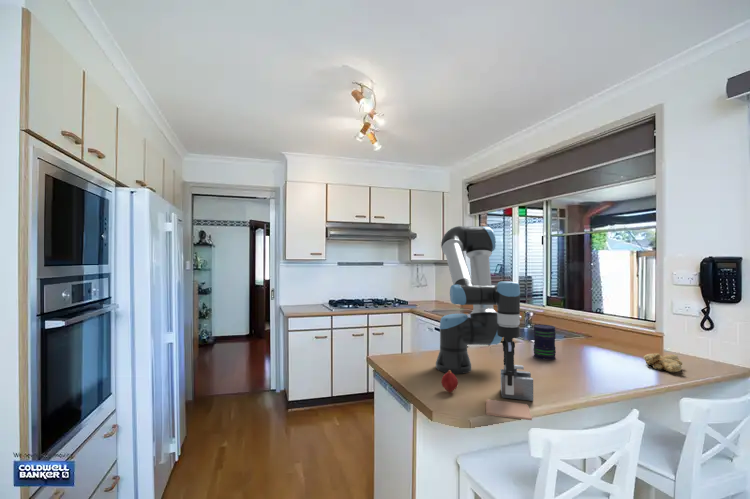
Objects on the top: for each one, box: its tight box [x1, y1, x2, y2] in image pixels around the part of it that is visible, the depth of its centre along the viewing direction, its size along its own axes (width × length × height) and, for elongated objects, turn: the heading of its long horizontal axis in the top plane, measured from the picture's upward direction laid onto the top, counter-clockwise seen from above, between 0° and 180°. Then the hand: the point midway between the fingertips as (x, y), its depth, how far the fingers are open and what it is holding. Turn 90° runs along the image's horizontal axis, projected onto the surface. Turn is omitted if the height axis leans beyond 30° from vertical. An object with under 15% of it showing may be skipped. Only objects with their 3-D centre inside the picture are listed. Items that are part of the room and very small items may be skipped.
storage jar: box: [533, 324, 557, 361], centre depth 178 cm, size 10×10×15 cm
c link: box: [500, 368, 534, 402], centre depth 128 cm, size 10×9×7 cm
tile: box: [485, 399, 533, 421], centre depth 115 cm, size 13×11×1 cm
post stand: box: [505, 364, 525, 377], centre depth 128 cm, size 6×3×10 cm, turn 73°
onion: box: [440, 370, 459, 394], centre depth 131 cm, size 6×6×8 cm
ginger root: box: [643, 352, 683, 373], centre depth 161 cm, size 16×16×8 cm
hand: (508, 389), depth 129 cm, fingers closed on c link, 9 cm apart
